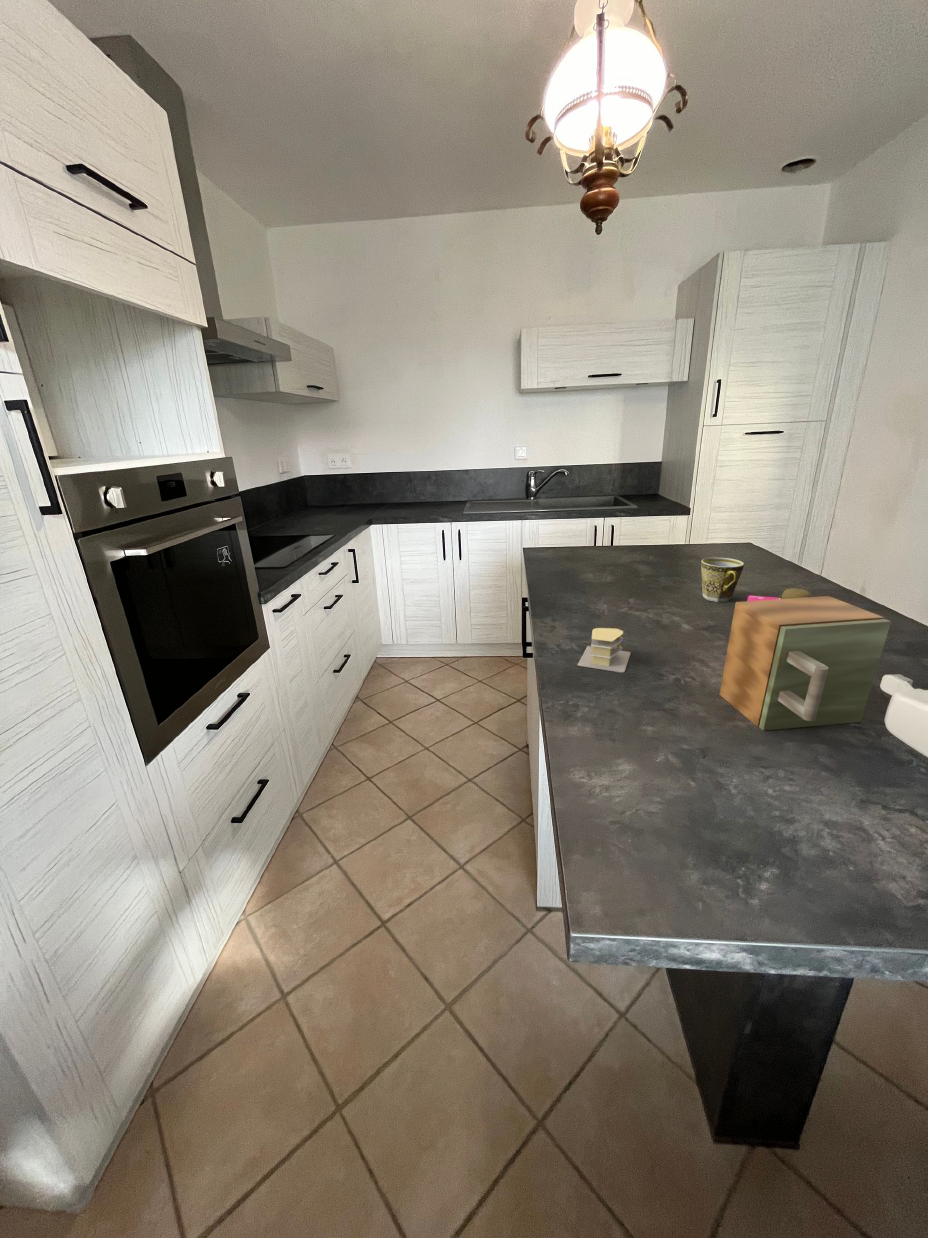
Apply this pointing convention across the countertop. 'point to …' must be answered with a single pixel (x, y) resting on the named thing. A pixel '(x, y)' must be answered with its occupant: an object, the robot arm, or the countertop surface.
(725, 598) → the ceramic cup
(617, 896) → the countertop surface
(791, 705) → the door
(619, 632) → the stacked layers on plate
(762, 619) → the cupboard
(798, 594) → the olive rounded oblong
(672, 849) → the countertop surface
